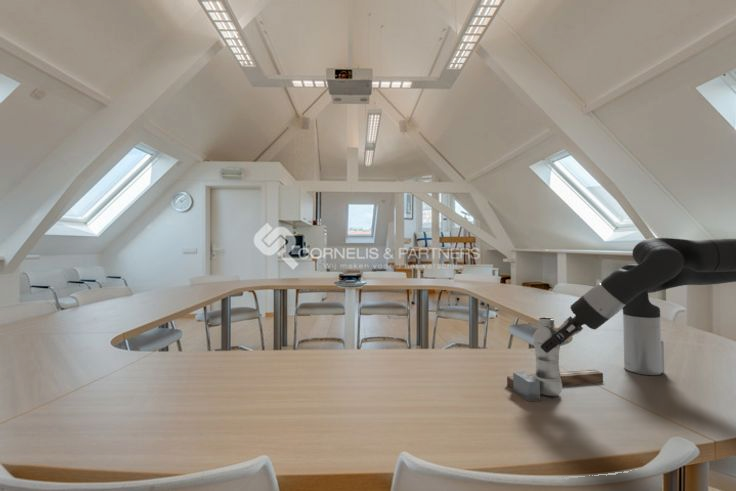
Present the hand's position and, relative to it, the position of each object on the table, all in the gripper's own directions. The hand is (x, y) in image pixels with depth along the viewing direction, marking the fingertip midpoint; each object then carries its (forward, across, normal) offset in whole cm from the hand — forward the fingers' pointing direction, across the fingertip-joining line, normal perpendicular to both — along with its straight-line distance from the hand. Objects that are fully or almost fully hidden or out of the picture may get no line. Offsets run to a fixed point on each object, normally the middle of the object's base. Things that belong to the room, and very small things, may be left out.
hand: (547, 346), depth 93 cm
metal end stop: (+12, -4, -6) cm, 14 cm away
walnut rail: (+9, +10, -9) cm, 16 cm away
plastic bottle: (+10, +1, -9) cm, 13 cm away
